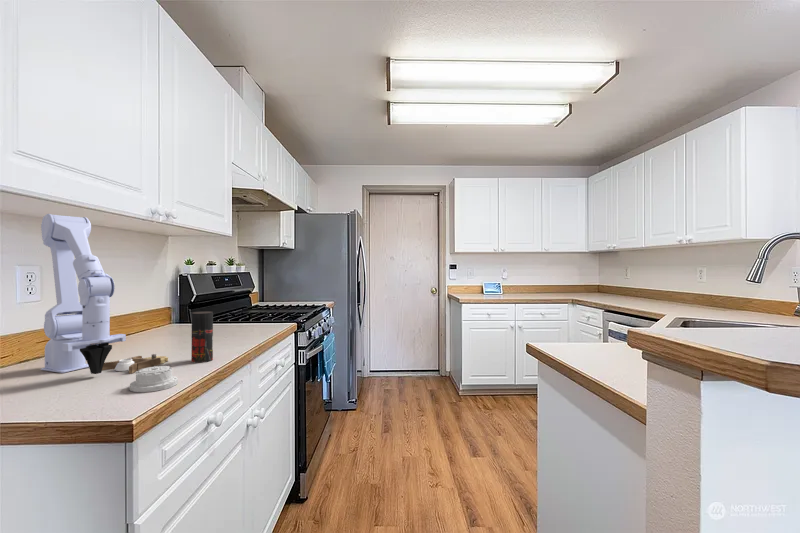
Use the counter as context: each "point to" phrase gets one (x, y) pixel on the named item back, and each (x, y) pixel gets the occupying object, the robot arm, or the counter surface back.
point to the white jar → (124, 365)
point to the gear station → (138, 363)
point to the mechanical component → (153, 379)
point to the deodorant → (202, 337)
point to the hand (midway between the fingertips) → (96, 373)
